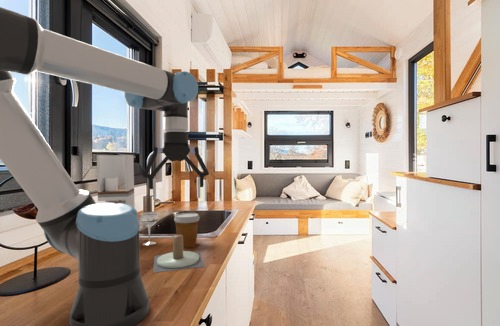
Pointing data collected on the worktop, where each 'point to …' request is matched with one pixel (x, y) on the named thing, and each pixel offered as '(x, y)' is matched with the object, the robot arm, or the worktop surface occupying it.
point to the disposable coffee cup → (187, 228)
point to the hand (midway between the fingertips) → (177, 198)
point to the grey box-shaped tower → (115, 179)
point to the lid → (178, 256)
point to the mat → (160, 269)
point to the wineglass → (148, 222)
